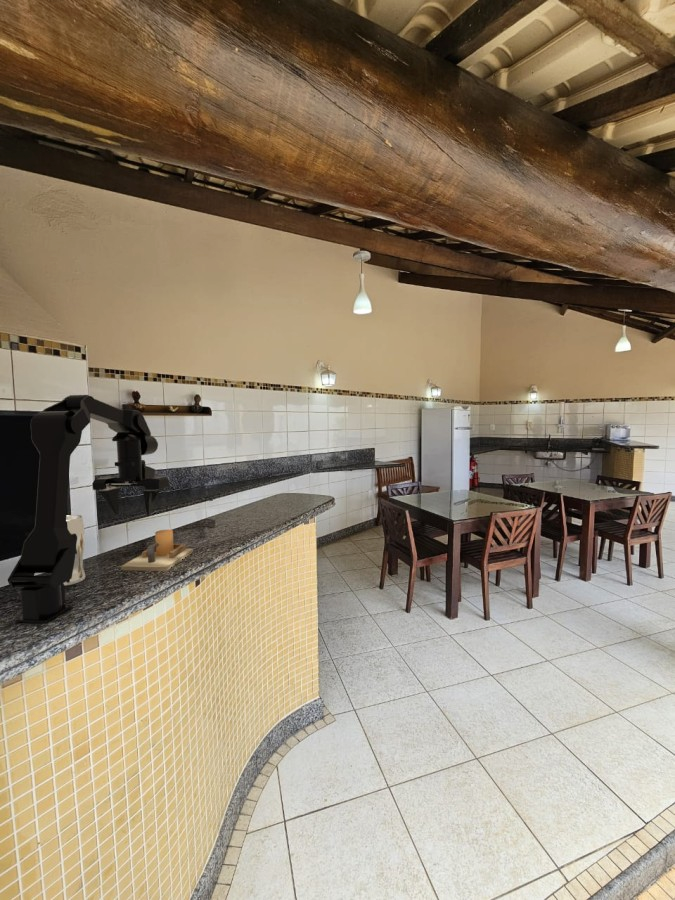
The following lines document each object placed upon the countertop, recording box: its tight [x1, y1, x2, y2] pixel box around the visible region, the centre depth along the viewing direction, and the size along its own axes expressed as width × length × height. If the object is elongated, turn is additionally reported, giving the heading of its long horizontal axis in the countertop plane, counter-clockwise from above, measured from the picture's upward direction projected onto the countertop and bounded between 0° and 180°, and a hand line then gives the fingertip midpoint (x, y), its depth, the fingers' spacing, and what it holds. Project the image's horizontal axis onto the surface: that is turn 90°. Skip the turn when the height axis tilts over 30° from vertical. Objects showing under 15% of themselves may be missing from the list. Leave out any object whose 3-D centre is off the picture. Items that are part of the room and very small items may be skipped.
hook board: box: [120, 542, 194, 572], centre depth 105 cm, size 14×12×5 cm
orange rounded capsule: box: [154, 529, 174, 556], centre depth 108 cm, size 4×4×6 cm
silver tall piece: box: [63, 514, 86, 587], centre depth 92 cm, size 7×7×15 cm
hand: (133, 514), depth 107 cm, fingers open, 9 cm apart
